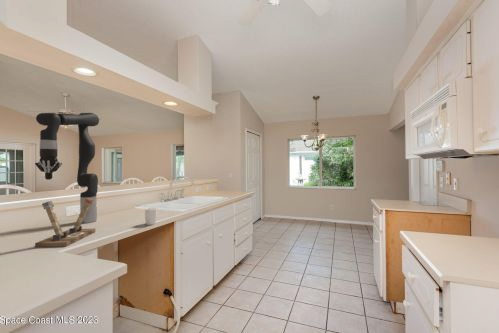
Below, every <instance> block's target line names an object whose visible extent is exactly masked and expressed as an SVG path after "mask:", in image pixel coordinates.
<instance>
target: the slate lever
mask: <svg viewBox="0 0 499 333" xmlns="http://www.w3.org/2000/svg"><path fill="white" fill-rule="evenodd" d="M41 205H42V208H43V210H45V211H46V214H47V216H48V219H49V221H50V223H51V226H52V228H53V232H54V235H61V237H63V236H64V233H63V232H64V231H63V229H62V227H61V225H60V222H59V220H58V216H57V215H56V212H55V209H54V202H53V201H52V200H50V201H49V200H48V201H45V202H42V203H41Z"/></svg>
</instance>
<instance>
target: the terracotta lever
mask: <svg viewBox="0 0 499 333" xmlns="http://www.w3.org/2000/svg"><path fill="white" fill-rule="evenodd" d="M92 202H93V199H90V198H87V199H85V201H84V203H83V204H84V206H83V208H82V210H81V213H79V215H78V216H77V219H76V221H75V224H74V225H73V228H77V230H79V228H80V226H82V224H83V223H82V221H83V219H84V217H85V215H86V213H87V210H88V208H89V206H90V205H91V204H92Z"/></svg>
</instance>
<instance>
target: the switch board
mask: <svg viewBox="0 0 499 333" xmlns="http://www.w3.org/2000/svg"><path fill="white" fill-rule="evenodd" d="M62 232H63V233H64V236H63V237H61V235H56V234H54V235H52V236H48V237H47V238H44V239H42V240H39V241H37V242H35V243H34V248H56V247H57V248H58V247H61V248H63V247H69V246H70V244H71V245H72V243H73V244H74V243H76V242H78V241H80V240H82V239H84V238H86V237H88V236H90V235H92V234H95V233H96V228H83V226H82V225H81V226H80V228H79V230H77V228H74V227H71V228H69V229H67V230H65V231H62ZM62 246H63V247H62Z"/></svg>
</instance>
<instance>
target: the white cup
mask: <svg viewBox="0 0 499 333" xmlns="http://www.w3.org/2000/svg"><path fill="white" fill-rule="evenodd" d="M157 220H158V208H157V207H147V208H146V207H145V209H144V221H145V225H147V226H149V225H150V226H152V225H156V224H157V222H158V221H157Z"/></svg>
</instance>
